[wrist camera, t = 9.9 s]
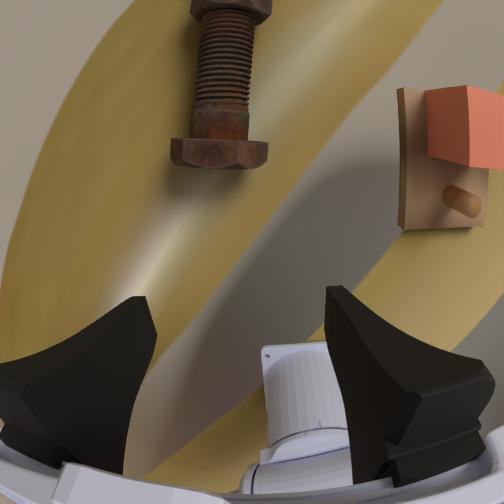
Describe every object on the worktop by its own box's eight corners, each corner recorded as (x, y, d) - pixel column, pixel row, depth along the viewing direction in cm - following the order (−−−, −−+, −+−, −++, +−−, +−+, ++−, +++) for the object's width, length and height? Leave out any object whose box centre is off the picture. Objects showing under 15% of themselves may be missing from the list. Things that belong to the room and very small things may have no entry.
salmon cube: (474, 159, 17) (517, 171, 12) (427, 155, 17) (469, 166, 13) (473, 99, 15) (516, 99, 11) (424, 90, 15) (466, 85, 11)
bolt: (250, -20, 15) (235, 161, 21) (186, -33, 13) (165, 161, 18) (295, -50, 11) (280, 171, 16) (218, -74, 8) (189, 170, 14)
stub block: (475, 221, 20) (504, 239, 16) (397, 224, 21) (422, 245, 17) (479, 103, 16) (512, 104, 12) (396, 89, 17) (425, 82, 13)
